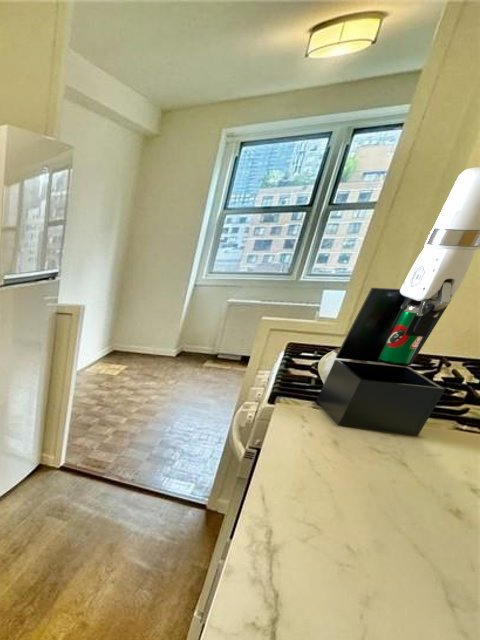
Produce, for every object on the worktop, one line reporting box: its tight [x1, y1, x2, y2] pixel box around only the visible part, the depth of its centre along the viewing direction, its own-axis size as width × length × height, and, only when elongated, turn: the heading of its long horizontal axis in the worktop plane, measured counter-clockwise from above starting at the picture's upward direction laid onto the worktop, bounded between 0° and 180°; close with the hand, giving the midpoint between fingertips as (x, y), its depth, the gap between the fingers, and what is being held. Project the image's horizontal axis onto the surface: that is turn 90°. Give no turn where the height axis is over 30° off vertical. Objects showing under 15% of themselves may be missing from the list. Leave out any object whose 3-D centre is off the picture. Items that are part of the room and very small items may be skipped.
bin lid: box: [336, 287, 453, 366], centre depth 110 cm, size 16×14×5 cm
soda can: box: [378, 305, 428, 366], centre depth 103 cm, size 5×5×12 cm
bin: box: [315, 360, 446, 437], centre depth 109 cm, size 16×14×11 cm
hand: (407, 331), depth 102 cm, fingers closed on soda can, 5 cm apart
